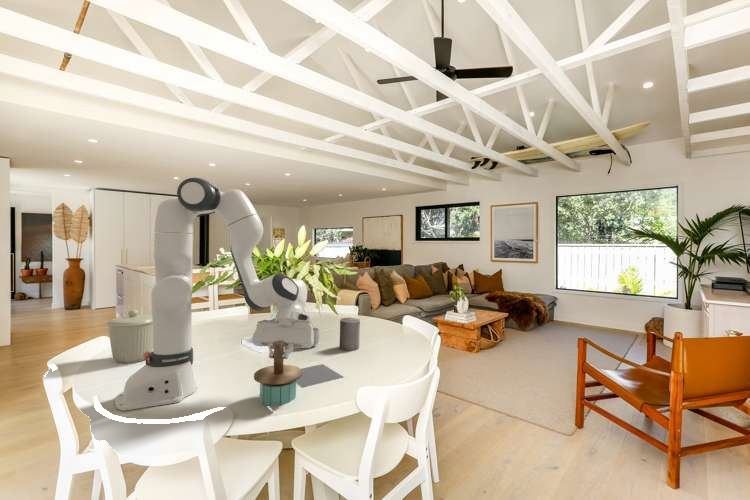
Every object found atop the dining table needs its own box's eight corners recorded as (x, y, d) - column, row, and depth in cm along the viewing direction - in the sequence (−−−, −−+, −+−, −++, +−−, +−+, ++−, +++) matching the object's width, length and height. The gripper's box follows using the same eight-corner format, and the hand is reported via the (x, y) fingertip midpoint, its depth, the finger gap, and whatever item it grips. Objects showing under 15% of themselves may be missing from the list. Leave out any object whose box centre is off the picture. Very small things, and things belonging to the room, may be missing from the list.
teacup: (314, 349, 166) (314, 333, 166) (293, 348, 168) (293, 331, 168) (324, 341, 180) (324, 326, 180) (304, 340, 182) (304, 324, 182)
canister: (152, 364, 143) (152, 312, 143) (98, 369, 137) (98, 314, 136) (162, 351, 160) (162, 305, 160) (115, 354, 154) (115, 306, 153)
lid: (251, 386, 105) (251, 350, 104) (256, 368, 119) (256, 336, 119) (303, 382, 108) (303, 347, 108) (301, 365, 123) (301, 335, 123)
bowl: (267, 409, 106) (267, 389, 106) (255, 396, 115) (255, 378, 115) (301, 400, 113) (301, 381, 113) (287, 388, 122) (287, 371, 121)
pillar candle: (335, 346, 171) (336, 316, 171) (352, 343, 177) (352, 314, 177) (346, 352, 164) (347, 320, 163) (363, 348, 170) (364, 317, 169)
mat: (302, 388, 121) (302, 387, 121) (283, 373, 135) (283, 372, 135) (344, 378, 132) (344, 377, 132) (322, 365, 145) (322, 364, 145)
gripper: (256, 314, 121) (243, 351, 111) (315, 316, 119) (307, 354, 110) (261, 324, 126) (249, 361, 116) (318, 326, 124) (310, 363, 114)
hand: (278, 357), depth 113 cm, fingers closed on lid, 3 cm apart
